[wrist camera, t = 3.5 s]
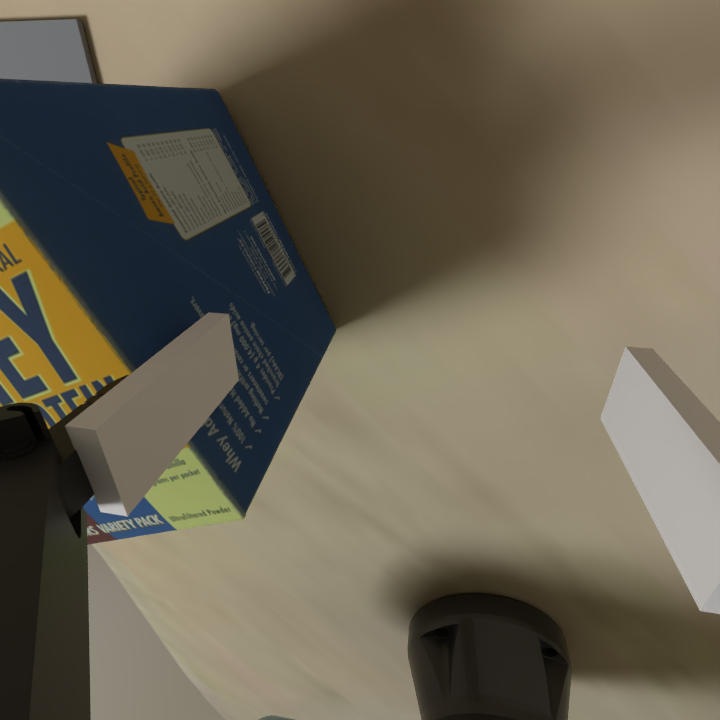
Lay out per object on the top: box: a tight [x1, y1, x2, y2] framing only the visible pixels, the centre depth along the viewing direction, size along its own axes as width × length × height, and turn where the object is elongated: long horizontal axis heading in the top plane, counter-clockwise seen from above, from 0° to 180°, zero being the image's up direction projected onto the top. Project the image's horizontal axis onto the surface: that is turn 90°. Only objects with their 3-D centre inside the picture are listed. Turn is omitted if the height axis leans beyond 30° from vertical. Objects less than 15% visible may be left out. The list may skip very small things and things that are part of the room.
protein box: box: [0, 79, 336, 545], centre depth 21 cm, size 10×15×16 cm
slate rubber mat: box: [0, 19, 97, 84], centre depth 29 cm, size 22×15×1 cm
